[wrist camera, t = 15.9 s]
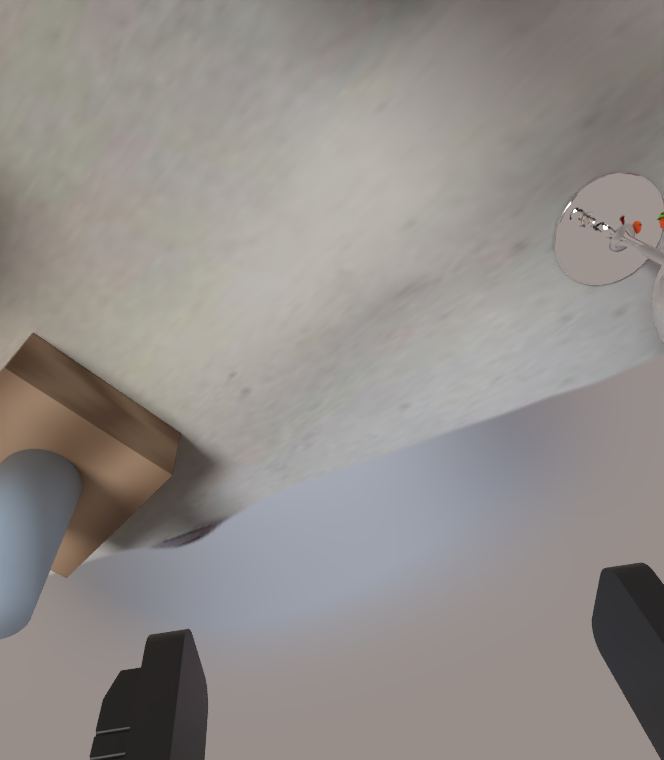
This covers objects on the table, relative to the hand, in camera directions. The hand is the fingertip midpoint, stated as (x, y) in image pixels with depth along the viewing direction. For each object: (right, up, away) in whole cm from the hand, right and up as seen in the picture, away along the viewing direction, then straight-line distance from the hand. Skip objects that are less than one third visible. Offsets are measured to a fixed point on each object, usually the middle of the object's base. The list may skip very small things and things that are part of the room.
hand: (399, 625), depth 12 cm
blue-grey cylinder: (-20, -2, +27) cm, 34 cm away
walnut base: (-21, 0, +32) cm, 38 cm away
